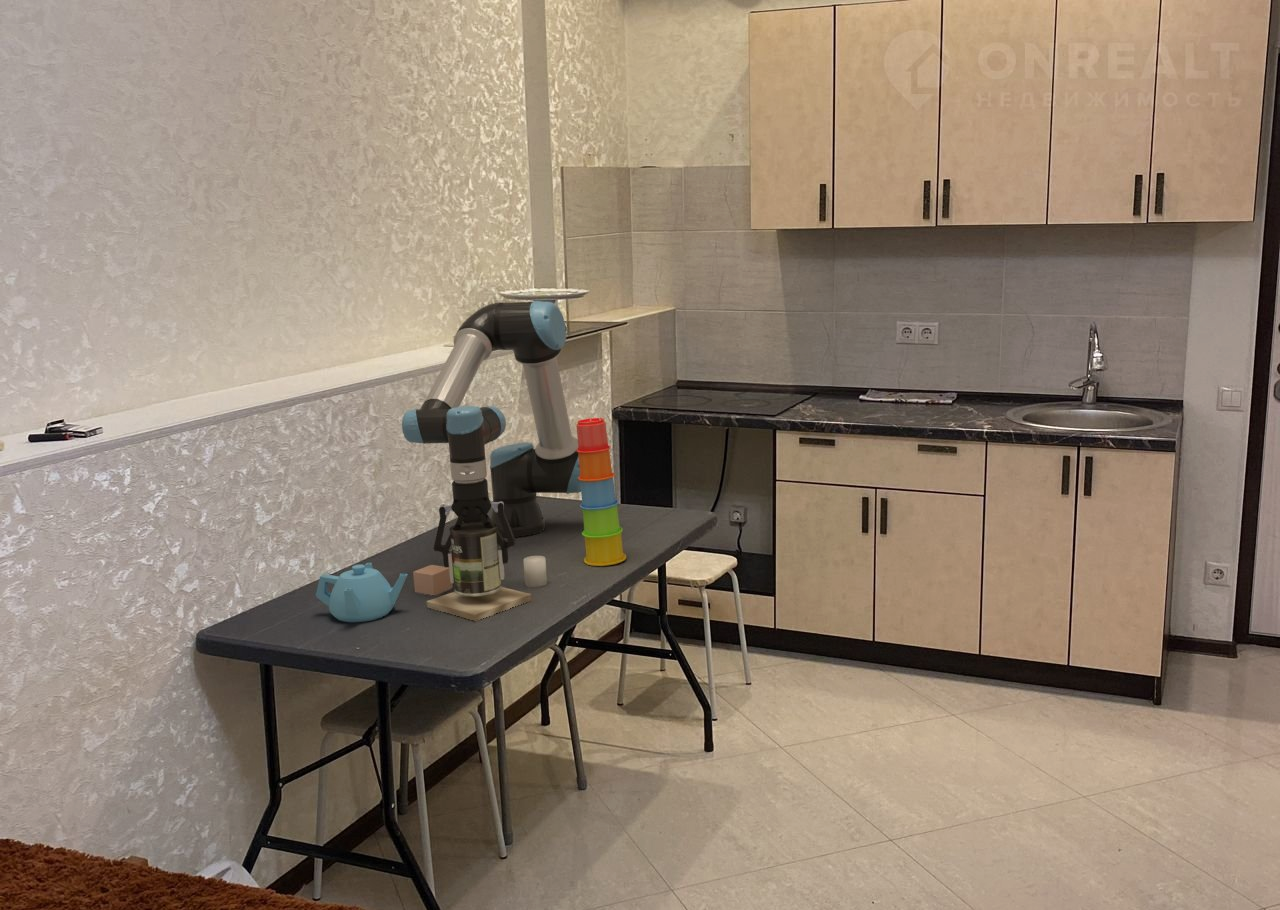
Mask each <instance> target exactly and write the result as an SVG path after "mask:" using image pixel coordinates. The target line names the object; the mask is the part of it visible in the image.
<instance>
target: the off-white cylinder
mask: <svg viewBox="0 0 1280 910" xmlns="http://www.w3.org/2000/svg"><path fill="white" fill-rule="evenodd" d="M522 562H523V571H524V585H526V586H525V587H527V586H531V587H530V588H533V587H535V588H538V587H537V586H542V587H544V586H543V585H545V586H546V585H547V584H548V577H547V563H546V562H547V560H546V556H543V555H530V556H526V557H525V558H523V561H522Z"/></svg>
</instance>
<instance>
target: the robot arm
mask: <svg viewBox="0 0 1280 910" xmlns="http://www.w3.org/2000/svg"><path fill="white" fill-rule="evenodd" d="M566 330H567V327H566V322H565V318H564V315H563V312H562V311H561V309H560V308H559V306H557V305H556V304H555V303H554V302H551V301H540V300H534V301H519V302H518V301H517V302H516V301H515V302H513V301H511V302H494V303H491V304H487V305H485V306H483V307H481V308H479V309H478V310H477V311H475V312H473V314H471V315H470V316H468V317H467V319H466V320H465V321H463V323H462V324H461V325H460V326H459V328H458V329H457V331H456V333H455V335H454V338H453V347H452V349H451V351H450V353H449V355H448V357H447V358H446V361H445V362H444V365H443V366H442V368H441V369H440V372H439V374H438V375H437V377H436V379H435V381H434V383H433V385H432V387H431V388H430V390H429V392H428V395H427V396H426V398H425V399H424V401H423V403H422V405H421V407H420V408H419V409H418V408H415V409H408V410H407V411H406V412H405V413H404V414H403V416H402V421H401V430H402V434H403V436H404V439H405V440H406V441H408V442H409V443H412V444H413V443H414V444H424V445H426V444H448V451H449V464H450V466H449V467H450V478H451V479H452V480H453V482H452V483H451V489H452V490H451V491H452V504H448V505H445V504H441V505H440V506H439V508H438V512H439V520H438V521H439V522H438V525H437V531H436V536H435V540H434V545H433V551H434V552H439V553H442V559H443V567H449V572H450V583H452V584H454V572H453V560H452V549H451V534H450V533H449V535H448V538H447V540H446V542H445V543H444V544H442V540H443V535H444V531H445V526H446V522H447V517H448V516H450V513H451V512H453V513H454V514H455V515H456V516H457V519H456V522H455V523H454V524H453V525H454V527H453V530H459V529H460V527H461V525H462V523H463V522H465V523H470V522H476V523H477V522H480V521H482V523H483V524H484V525H485V526H486V527H487V528H493V526H494V524H493V522H494V523H496V524H497V525H498V529H497V532H496V536H497V543H498V548H499V549H498V557H499V570H500V580H505V566H504V564H508V562H509V552H508V549H509V548H511V547H514V546H515V545H516V539H515V538H519V536H522V537H526V536H525V535H528V536H531V535H530V534H533V535H535V534H534V533H536V534H538V533H537V532H539V533H541V532H543V531H544V530H545V529H546V521H545V518H544V516H543V512H542V510H541V507H540V506H539V502H538V498H537V497H538V495H537V494H538V493H539V494H545V493H546V494H567V495H569V494H579V493H581V485H580V480H579V479H578V477H579V476H580V467H579V456H578V452H577V449H578V438H576V437H575V436H573V435H572V431H571V430H572V429H571V425H570V419H569V416H568V415H569V414H568V410H567V405H566V399H565V394H564V389H563V385H562V379H561V374H560V369H559V364H558V363H559V362H558V359H557V358H558V357H559V355H560V354H561V353H562V348H563V347H564V346H565V344H566V340H567V332H566ZM496 351H513V354H514V358H515V361H517V363H518V364H521V365H522V367H523V373H524V376H525V381H526V386H527V387H526V388H527V391H528V396H529V399H530V406H531V410H532V415H533V419H534V424H535V429H536V433H537V437H538V443H537V444H536V446H535V445H534V444H533V443H532V442H526V441H525V442H518V443H511V444H508V445H507V444H506V445H502V446H500V447H498V448H495V449H493V450H492V451H491V452H490V457H489V462H490V463H489V464H490V465H489V469H490V481H491V490H492V491H491V493H492V501H491V500H490V497H489V486H488V484H489V483H488V479H486V477H487V476H488V471H487V459H486V450H485V449H486V448H485V447H486V446H485V445H487V444H489V443H491V442H493V441H496V440H497V439H498V438H499V437H501V436H502V435H503V433H504V432H505V431H506V426H507V420H506V417H505V415H504V413H503V412H502V411H501V410H500V409H499V408H498V407H495V406H491V405H487V406H482V407H478V406H476V405H475V406H474V405H464V406H461V404H462V402H463V399H464V398H465V396H466V394H467V392H468V390H469V388H470V387H471V384H472V382H473V380H474V379H475V376H476V374H477V372H478V371H479V368H480V366H481V364H482V363H483V361H486V360H488V358H489V357H490V356H491V354H492V353H493V352H496ZM490 510H491V513H490V516H489V515H488V513H489V511H490ZM544 528H545V529H544ZM543 529H544V530H543ZM542 530H543V531H542ZM540 531H541V532H540ZM505 538H506V540H505ZM450 549H451V550H450Z"/></svg>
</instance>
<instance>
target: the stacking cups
mask: <svg viewBox="0 0 1280 910" xmlns="http://www.w3.org/2000/svg"><path fill="white" fill-rule="evenodd" d="M575 427H576V435H577V440H578V449H577V452H578V456H579V467H580V476H579V477H578V479H579V480H580V485H581V492H580V493H581V501H582V502H581V504H579V505H580V506H579V507H580V509H581V511H582V519H583V531H582V532H581V535H582V537H584V543H585V557H584V558H583V562H584V563H585V565H588V566H591V567H592V566H593V567H606V566H614V565H617V564H621V563H622V562H624V561H626V559H627V554H626V553H624V550H623V549H624V548H623V539H622V532H623V527H621V526H620V520H619V519H620V518H619V512H618V504H619V501H618V500H617V499H616V498H617V497H616V490H615V484H614V477H615V473H614V472H613V469H612V463H611V453H610V449H611V446H610V445H609V441H608V433H607V432H608V431H607V423H606V421H605V420H604V418H602V417H591V418H585V419H580V420H578V421H577V423H576V425H575Z"/></svg>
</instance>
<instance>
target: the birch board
mask: <svg viewBox="0 0 1280 910" xmlns="http://www.w3.org/2000/svg"><path fill="white" fill-rule="evenodd" d="M529 601H530V602H532V593H529V592H524V591H519V590H516V589H512V588H507V587H504V586H502V588H501V589H500V590H499V591H497V592H495V593H493V594H489V595H485V596H476V597H470V596H461V595H458V594H456V593H455V591H453V592H449V593H447V594H444V595H441V596H437V597H435V598H432V599H430V600H426V608H427V609H430V608H431V609H430V610H433V609H434V610H433V611H437V610H438V611H437V612H440V611H441V612H440V613H443V612H446V613H445V614H447V613H450V614H453V615H452V616H454V615H456V616H455V617H457V616H460V617H459V618H461V617H464V618H466V620H468V619H470V620H469V621H471V620H474V621H473V622H475V621H476V622H478V621H477V620H479V621H481V620H480V619H482V620H484V619H486V617H487V618H489V616H490V617H492V616H495V615H497V614H496V613H498V614H500V613H502V611H503V612H506V611H509V610H511V609H513V608H512V607H514V608H516V607H519V606H522V605H524V604H527V603H529ZM526 602H527V603H526ZM523 603H524V604H523ZM521 604H522V605H521ZM518 605H519V606H518ZM515 606H516V607H515ZM510 608H511V609H510ZM505 610H506V611H505ZM499 612H500V613H499ZM450 614H449V615H450ZM494 614H495V615H494ZM464 618H463V619H464ZM483 618H484V619H483Z"/></svg>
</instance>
